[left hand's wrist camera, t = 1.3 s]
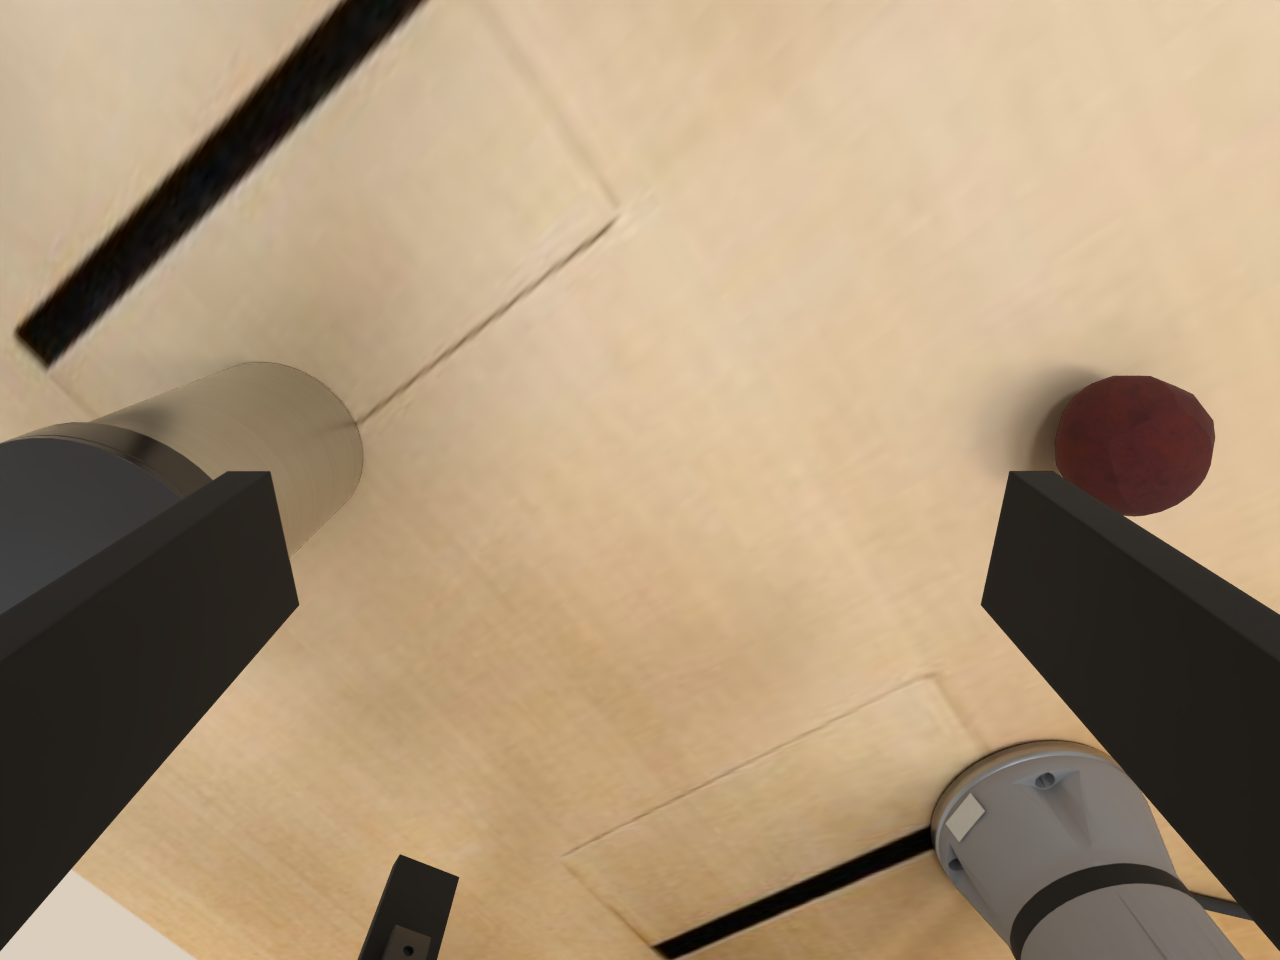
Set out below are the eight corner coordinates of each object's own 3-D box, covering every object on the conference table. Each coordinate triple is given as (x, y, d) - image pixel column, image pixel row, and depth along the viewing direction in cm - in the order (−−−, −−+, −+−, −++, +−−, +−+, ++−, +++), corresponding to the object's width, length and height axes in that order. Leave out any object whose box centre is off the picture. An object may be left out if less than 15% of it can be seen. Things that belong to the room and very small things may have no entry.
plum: (1056, 505, 42) (1132, 559, 36) (1008, 405, 40) (1079, 443, 34) (1173, 443, 41) (1274, 488, 34) (1130, 335, 39) (1230, 361, 32)
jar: (321, 550, 44) (172, 708, 30) (166, 466, 42) (-71, 595, 28) (392, 424, 41) (263, 535, 27) (229, 327, 39) (-3, 393, 25)
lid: (200, 695, 32) (171, 726, 30) (-47, 578, 29) (-95, 604, 27) (297, 515, 28) (272, 537, 26) (26, 367, 26) (-23, 380, 24)
